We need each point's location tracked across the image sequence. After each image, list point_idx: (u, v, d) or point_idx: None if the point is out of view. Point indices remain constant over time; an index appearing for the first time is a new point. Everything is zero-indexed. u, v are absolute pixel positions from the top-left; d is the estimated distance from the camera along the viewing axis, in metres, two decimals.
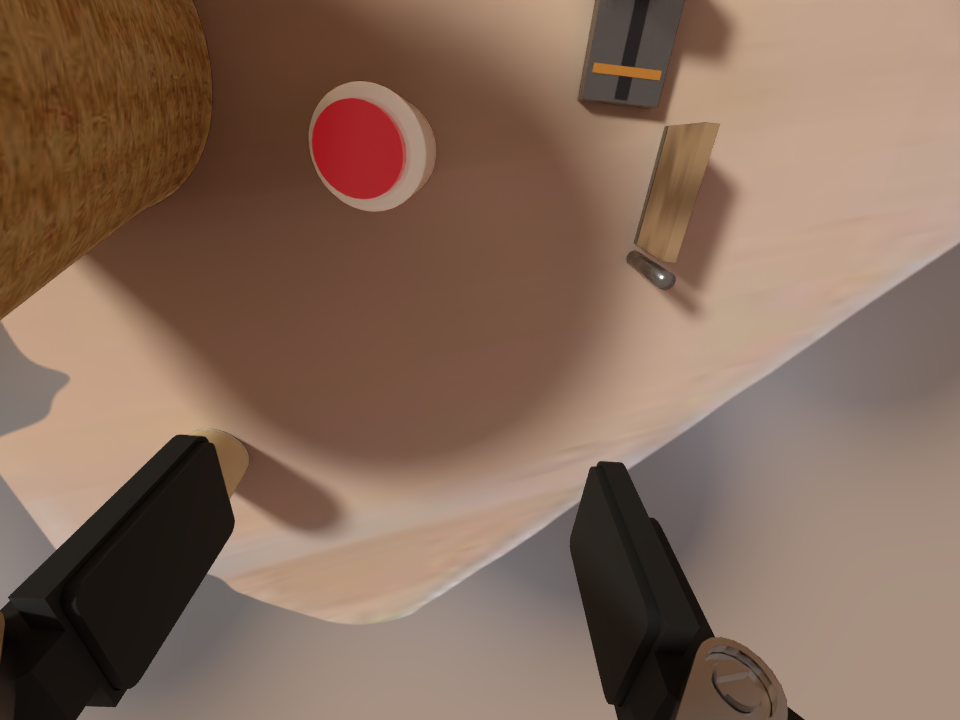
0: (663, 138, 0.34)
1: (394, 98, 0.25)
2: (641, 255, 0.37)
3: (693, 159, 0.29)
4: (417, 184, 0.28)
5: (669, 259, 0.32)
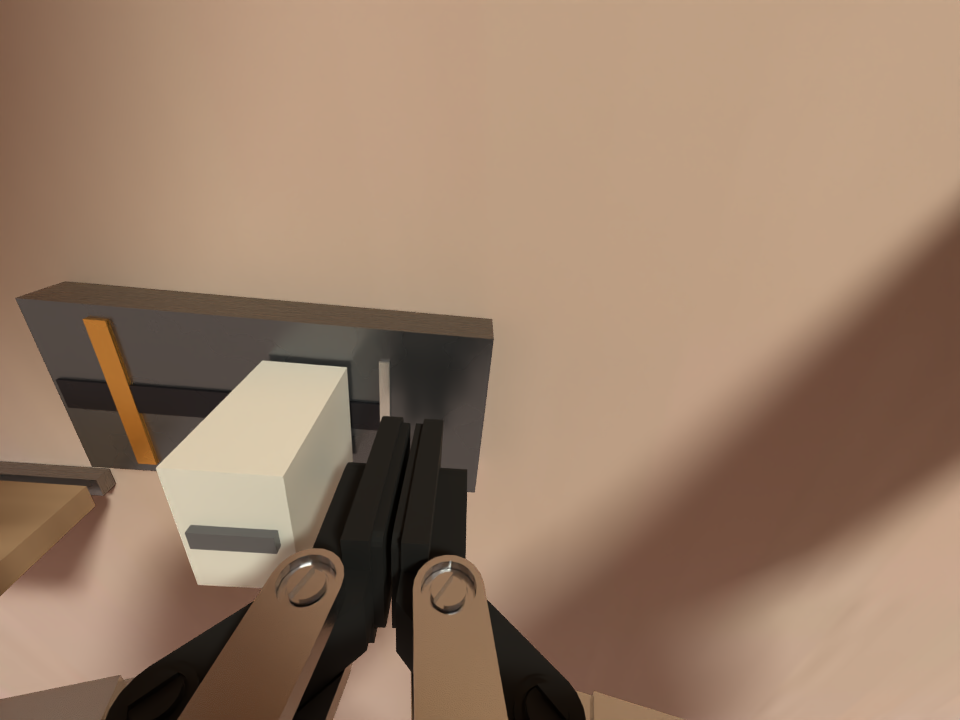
0: (77, 474, 0.15)
1: None
2: None
3: None
4: None
5: None
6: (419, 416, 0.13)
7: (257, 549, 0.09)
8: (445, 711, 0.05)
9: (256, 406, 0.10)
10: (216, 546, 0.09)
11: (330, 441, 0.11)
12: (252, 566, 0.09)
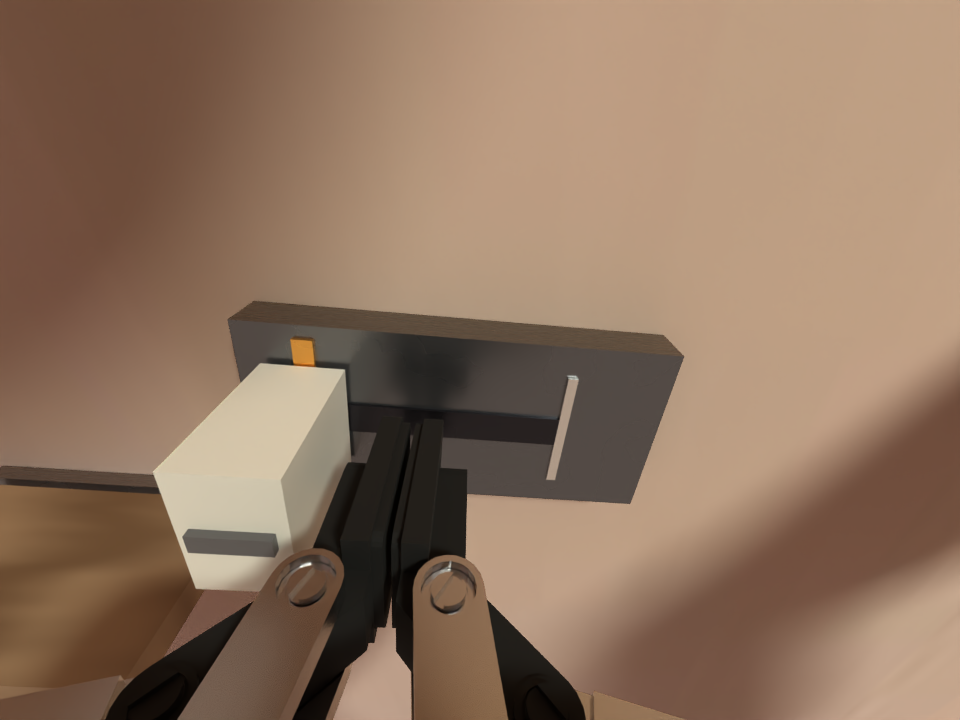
0: None
1: None
2: None
3: (26, 678, 0.10)
4: None
5: None
6: (594, 430, 0.13)
7: (255, 553, 0.09)
8: (445, 712, 0.05)
9: (254, 409, 0.10)
10: (214, 550, 0.09)
11: (328, 444, 0.11)
12: (250, 569, 0.09)
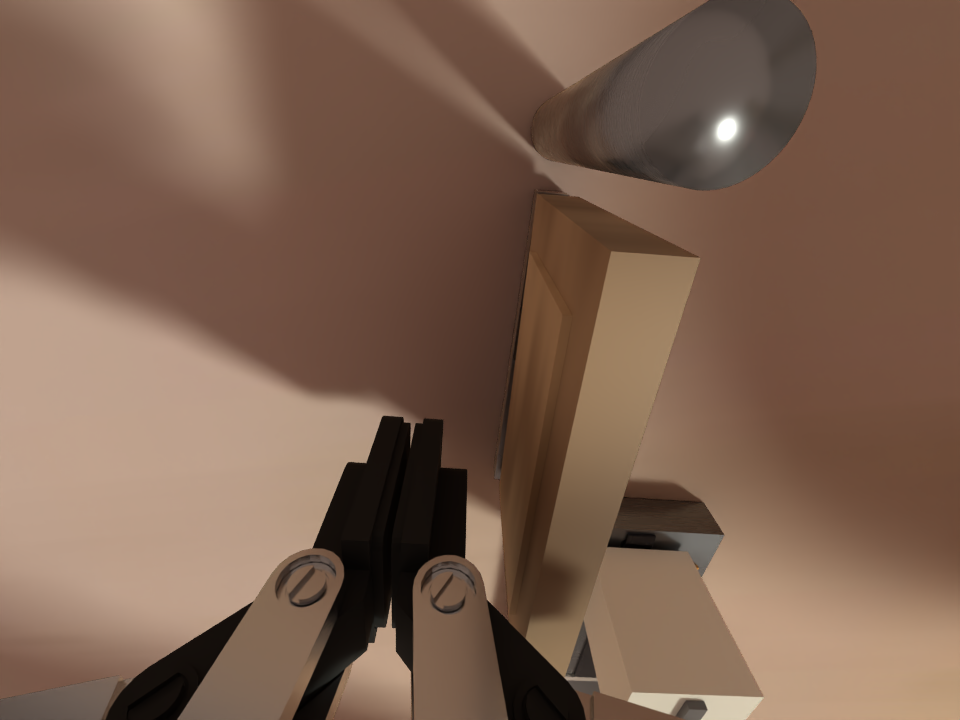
0: None
1: None
2: None
3: None
4: None
5: (657, 273, 0.05)
6: (581, 688, 0.20)
7: None
8: (445, 712, 0.05)
9: None
10: None
11: None
12: None
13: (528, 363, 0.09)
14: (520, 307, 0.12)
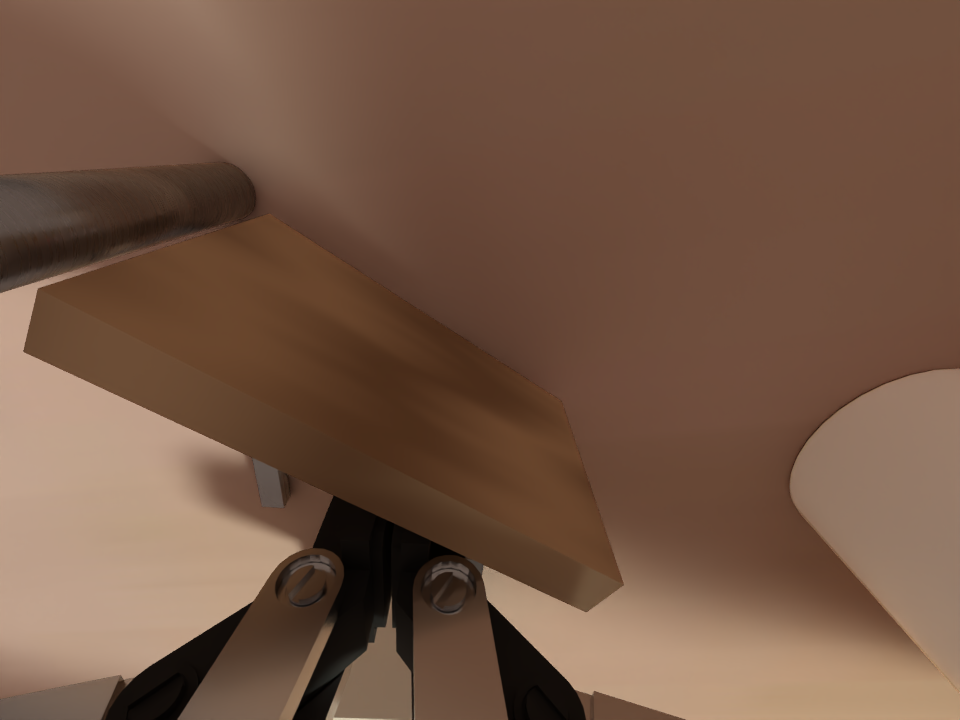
0: (283, 485, 0.15)
1: None
2: (196, 231, 0.09)
3: (523, 526, 0.07)
4: None
5: (49, 326, 0.05)
6: None
7: None
8: (445, 711, 0.05)
9: None
10: None
11: None
12: None
13: None
14: None
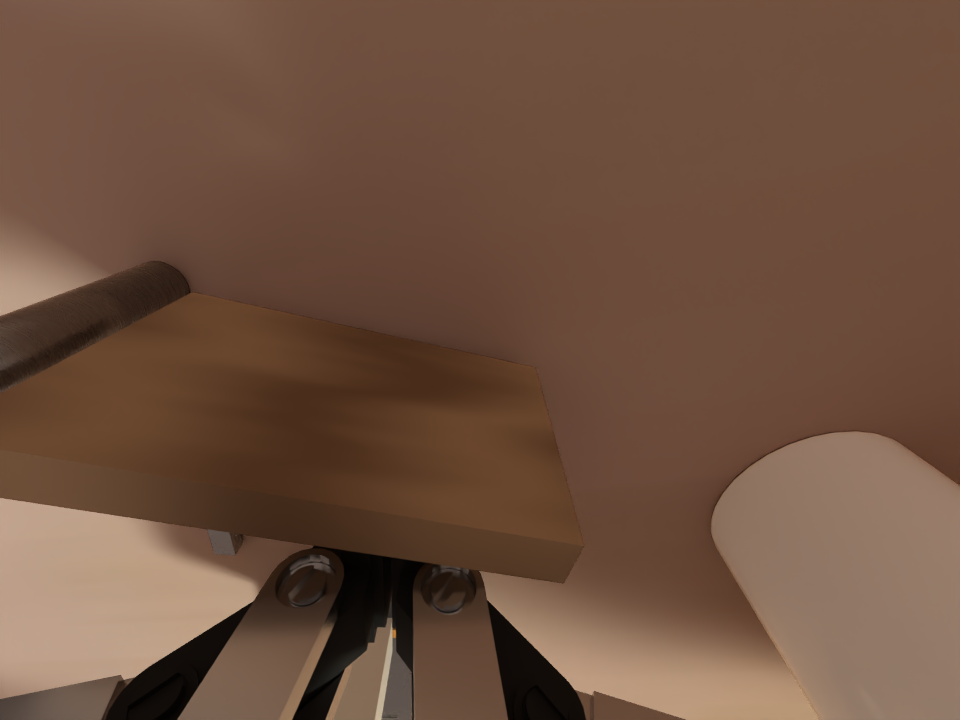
0: (234, 535, 0.16)
1: None
2: None
3: (447, 514, 0.07)
4: None
5: None
6: None
7: None
8: (445, 711, 0.05)
9: (381, 693, 0.15)
10: None
11: None
12: None
13: None
14: None
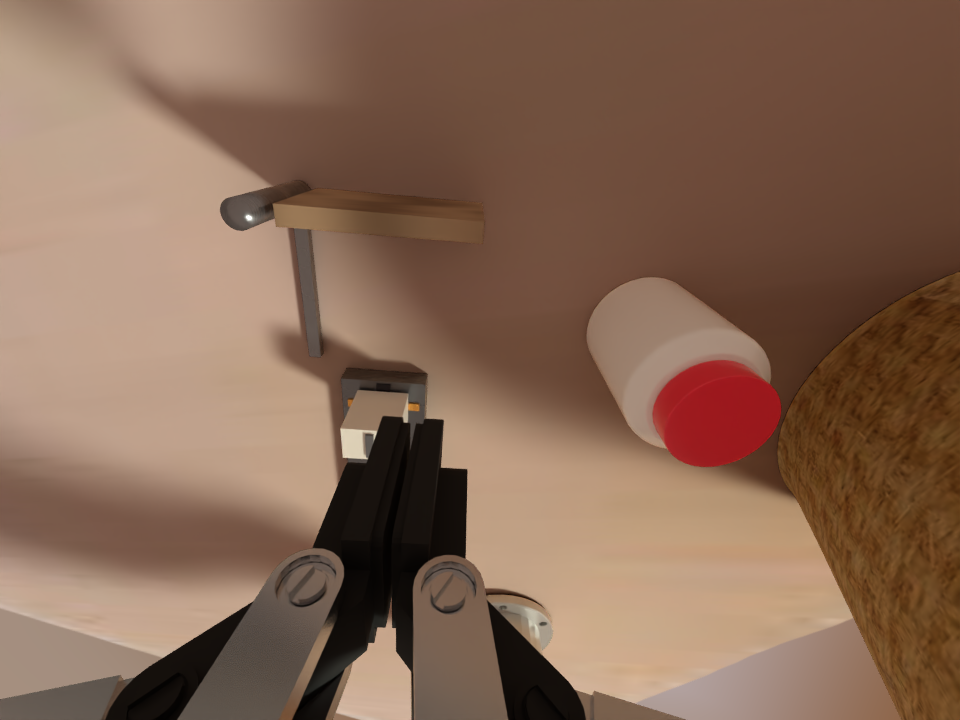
0: (320, 344, 0.29)
1: (648, 440, 0.23)
2: None
3: (435, 217, 0.19)
4: (645, 361, 0.21)
5: (278, 214, 0.18)
6: None
7: (366, 451, 0.26)
8: (445, 711, 0.05)
9: None
10: (367, 443, 0.26)
11: None
12: (354, 446, 0.26)
13: None
14: (299, 267, 0.26)
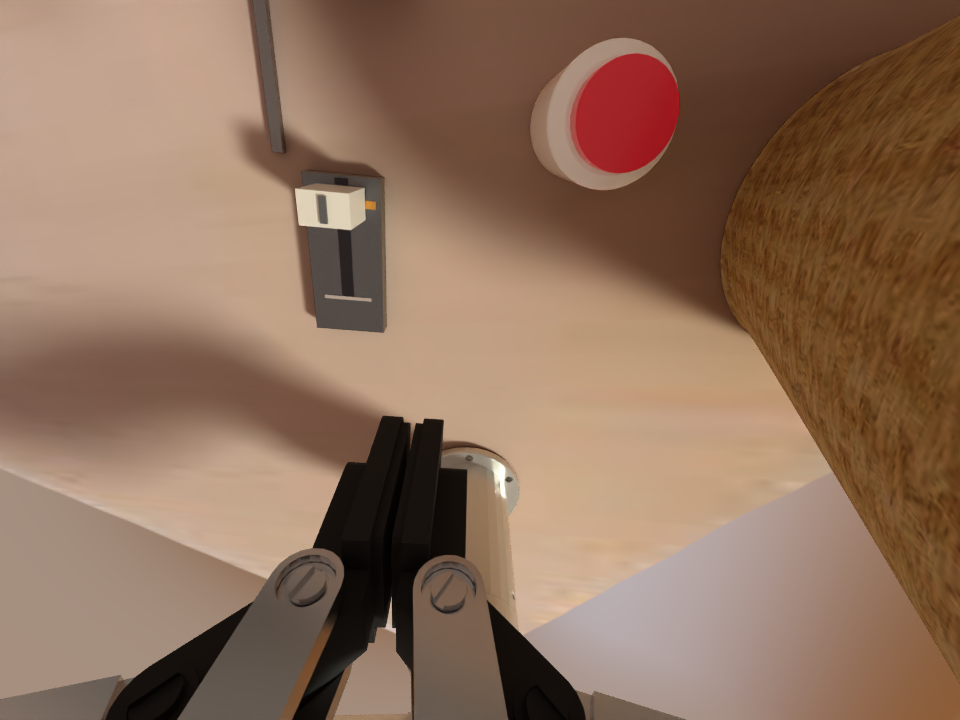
0: (282, 139, 0.31)
1: (572, 174, 0.25)
2: None
3: None
4: (562, 77, 0.23)
5: None
6: (350, 309, 0.36)
7: (320, 216, 0.28)
8: (445, 711, 0.05)
9: (357, 203, 0.30)
10: (320, 204, 0.28)
11: None
12: (308, 210, 0.28)
13: None
14: (259, 47, 0.28)
